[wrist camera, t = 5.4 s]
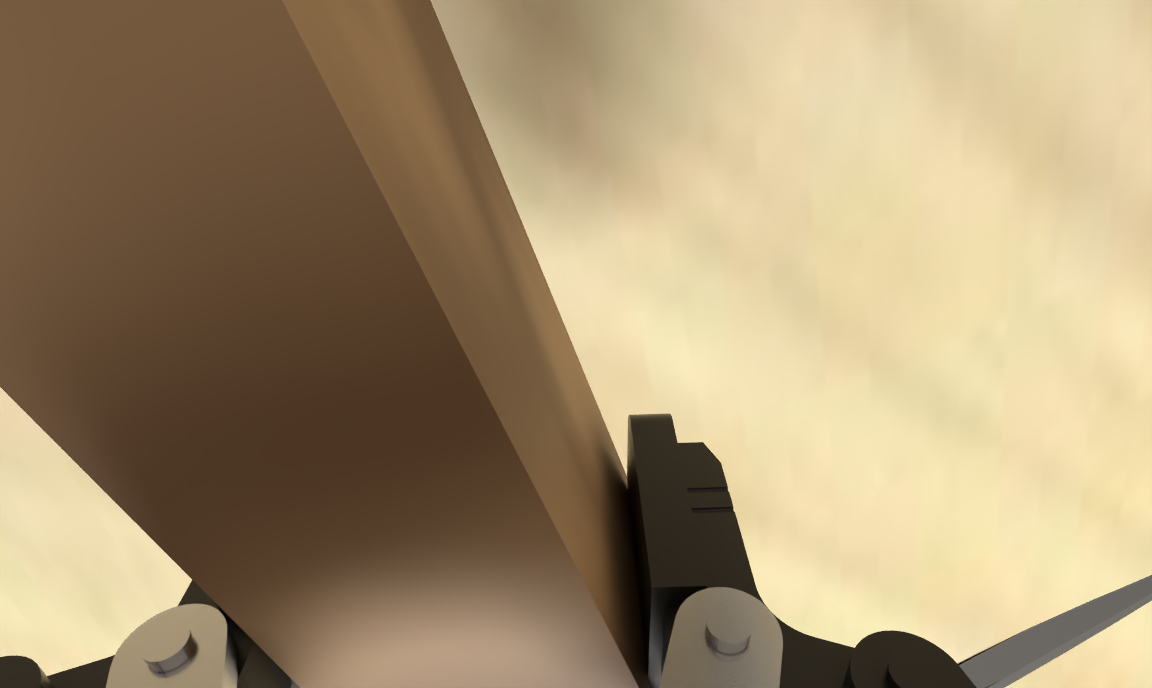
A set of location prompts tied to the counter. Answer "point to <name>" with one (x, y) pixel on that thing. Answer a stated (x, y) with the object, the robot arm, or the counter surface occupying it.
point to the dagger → (1054, 637)
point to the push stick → (309, 338)
